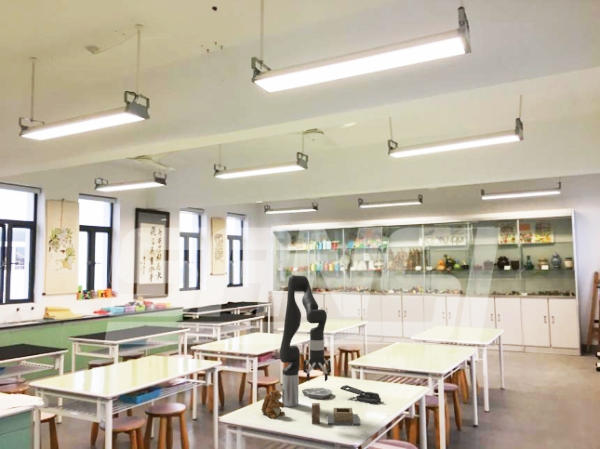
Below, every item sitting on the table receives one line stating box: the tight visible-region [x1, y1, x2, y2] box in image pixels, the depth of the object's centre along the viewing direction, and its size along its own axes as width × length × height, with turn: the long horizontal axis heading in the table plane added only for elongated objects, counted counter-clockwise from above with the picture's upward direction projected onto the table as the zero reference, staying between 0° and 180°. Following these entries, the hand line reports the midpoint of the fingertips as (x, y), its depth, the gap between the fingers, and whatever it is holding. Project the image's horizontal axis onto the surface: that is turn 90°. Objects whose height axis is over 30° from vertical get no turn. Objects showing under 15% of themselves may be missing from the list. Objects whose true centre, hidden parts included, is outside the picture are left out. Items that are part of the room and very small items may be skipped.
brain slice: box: [301, 387, 333, 400], centre depth 296 cm, size 20×17×3 cm
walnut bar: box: [311, 402, 321, 425], centre depth 242 cm, size 4×4×9 cm
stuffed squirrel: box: [261, 389, 286, 419], centre depth 256 cm, size 10×14×13 cm
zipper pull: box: [340, 384, 382, 405], centre depth 285 cm, size 9×7×25 cm
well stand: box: [326, 407, 361, 426], centre depth 245 cm, size 16×16×5 cm
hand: (317, 380), depth 244 cm, fingers open, 8 cm apart
